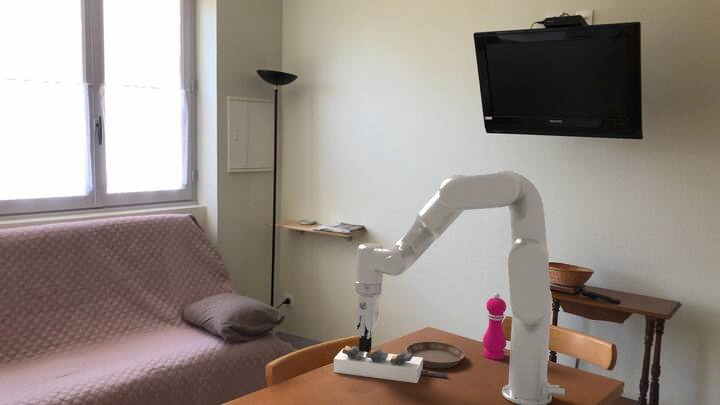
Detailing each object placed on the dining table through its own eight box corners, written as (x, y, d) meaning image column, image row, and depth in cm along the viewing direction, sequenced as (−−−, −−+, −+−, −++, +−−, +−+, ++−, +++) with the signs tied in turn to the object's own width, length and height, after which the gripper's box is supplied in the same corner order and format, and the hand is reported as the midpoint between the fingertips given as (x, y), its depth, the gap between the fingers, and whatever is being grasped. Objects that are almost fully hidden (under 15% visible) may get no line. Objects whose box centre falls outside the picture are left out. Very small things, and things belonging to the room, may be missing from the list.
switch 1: (362, 358, 176) (365, 349, 176) (359, 362, 173) (362, 354, 172) (344, 351, 177) (347, 342, 177) (341, 355, 174) (343, 346, 173)
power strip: (449, 374, 174) (449, 360, 174) (444, 386, 166) (445, 371, 165) (342, 361, 183) (343, 347, 182) (333, 372, 174) (333, 357, 174)
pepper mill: (506, 361, 186) (509, 296, 184) (481, 359, 187) (484, 295, 185) (505, 353, 193) (508, 291, 191) (482, 351, 194) (484, 289, 192)
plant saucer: (463, 352, 194) (464, 343, 193) (465, 373, 176) (465, 363, 176) (407, 348, 196) (408, 339, 196) (403, 369, 179) (404, 358, 178)
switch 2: (413, 359, 172) (411, 350, 172) (411, 363, 168) (408, 354, 168) (394, 362, 174) (392, 353, 173) (391, 366, 170) (389, 357, 170)
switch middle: (387, 359, 174) (388, 350, 174) (384, 364, 171) (385, 355, 170) (368, 355, 175) (369, 347, 175) (365, 360, 172) (366, 351, 172)
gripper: (375, 296, 163) (371, 362, 166) (387, 283, 178) (383, 344, 180) (348, 292, 165) (344, 358, 167) (362, 280, 180) (359, 340, 182)
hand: (364, 350), depth 174 cm, fingers closed
